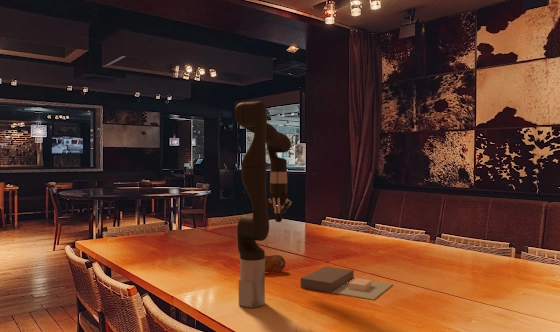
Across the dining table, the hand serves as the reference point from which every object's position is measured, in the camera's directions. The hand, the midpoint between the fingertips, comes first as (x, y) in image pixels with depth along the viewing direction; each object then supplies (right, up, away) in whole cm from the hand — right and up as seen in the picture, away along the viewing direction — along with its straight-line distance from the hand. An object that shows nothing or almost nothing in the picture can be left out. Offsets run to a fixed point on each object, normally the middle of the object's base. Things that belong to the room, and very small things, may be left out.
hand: (278, 221), depth 187 cm
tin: (-4, -27, +19) cm, 34 cm away
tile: (+34, -24, -7) cm, 43 cm away
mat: (+35, -27, -8) cm, 45 cm away
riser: (+22, -27, +1) cm, 35 cm away
